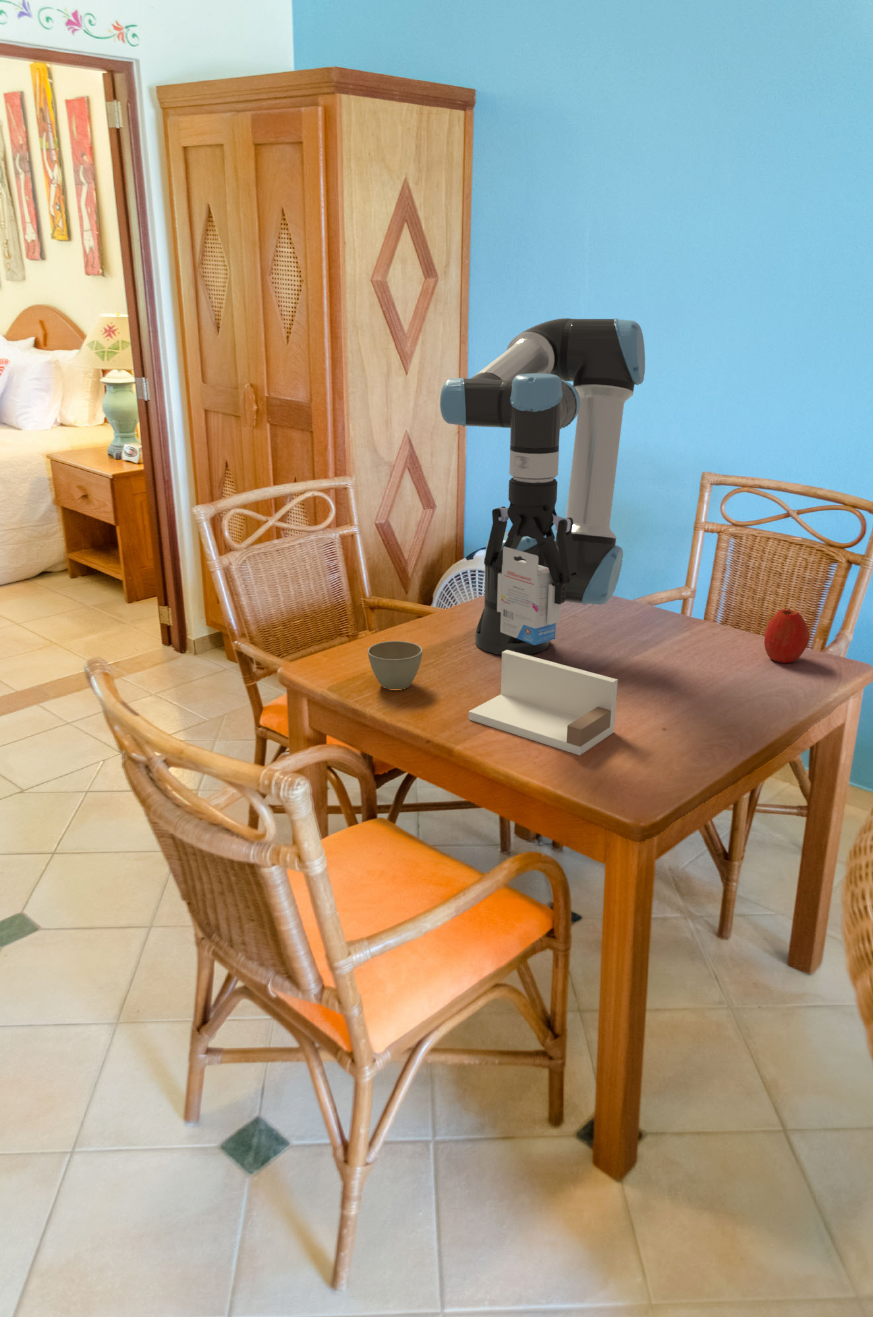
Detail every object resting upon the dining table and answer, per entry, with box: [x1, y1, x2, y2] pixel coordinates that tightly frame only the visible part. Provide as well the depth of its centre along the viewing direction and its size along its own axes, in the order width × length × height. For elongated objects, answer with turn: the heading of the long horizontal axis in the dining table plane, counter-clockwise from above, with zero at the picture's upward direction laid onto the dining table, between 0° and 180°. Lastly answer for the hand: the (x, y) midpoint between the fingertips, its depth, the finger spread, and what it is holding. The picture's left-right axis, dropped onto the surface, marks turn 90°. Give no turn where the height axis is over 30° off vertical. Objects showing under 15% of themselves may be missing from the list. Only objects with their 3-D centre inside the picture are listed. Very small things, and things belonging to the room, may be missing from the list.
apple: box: [763, 607, 810, 664], centre depth 199 cm, size 8×8×11 cm
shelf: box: [468, 650, 619, 756], centre depth 170 cm, size 22×11×10 cm, turn 51°
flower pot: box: [367, 640, 423, 690], centre depth 187 cm, size 10×10×7 cm
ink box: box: [500, 546, 557, 645], centre depth 164 cm, size 8×5×15 cm, turn 39°
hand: (528, 615), depth 165 cm, fingers closed on ink box, 9 cm apart
